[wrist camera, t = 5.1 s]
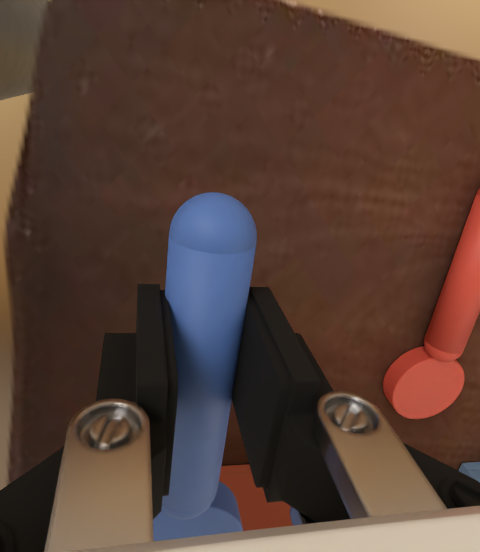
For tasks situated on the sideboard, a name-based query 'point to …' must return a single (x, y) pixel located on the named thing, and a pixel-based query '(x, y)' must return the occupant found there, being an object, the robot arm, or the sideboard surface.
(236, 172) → the sideboard surface
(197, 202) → the blue spoon
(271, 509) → the red bin
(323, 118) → the sideboard surface
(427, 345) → the red spoon
